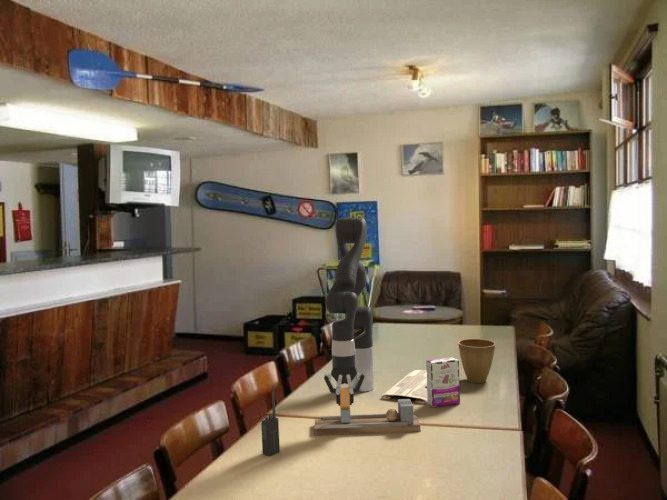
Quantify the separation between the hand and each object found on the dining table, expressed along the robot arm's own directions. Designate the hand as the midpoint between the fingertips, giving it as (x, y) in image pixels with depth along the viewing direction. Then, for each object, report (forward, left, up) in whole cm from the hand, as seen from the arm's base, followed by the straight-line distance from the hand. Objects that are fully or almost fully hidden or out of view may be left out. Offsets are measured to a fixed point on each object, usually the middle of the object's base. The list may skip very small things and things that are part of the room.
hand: (344, 404), depth 189 cm
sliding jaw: (0, 0, -6) cm, 6 cm away
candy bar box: (-21, +37, -8) cm, 43 cm away
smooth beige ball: (0, +15, -4) cm, 16 cm away
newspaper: (-42, +31, -9) cm, 53 cm away
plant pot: (-48, +57, -8) cm, 75 cm away
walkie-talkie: (+17, -23, -8) cm, 30 cm away
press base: (0, +7, -8) cm, 11 cm away
